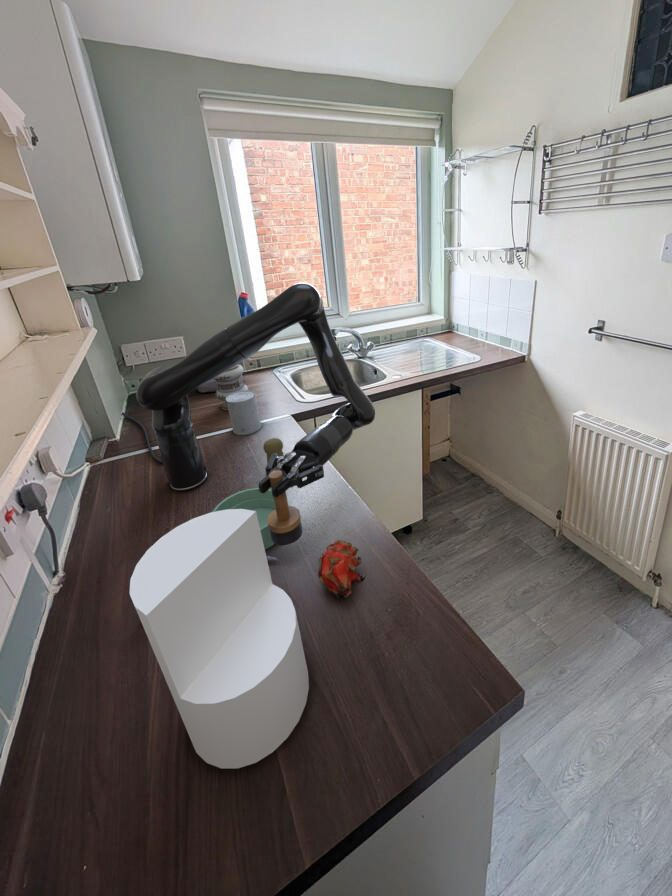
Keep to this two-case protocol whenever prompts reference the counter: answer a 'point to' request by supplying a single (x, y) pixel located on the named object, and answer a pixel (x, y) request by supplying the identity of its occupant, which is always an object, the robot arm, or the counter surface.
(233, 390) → the apothecary jar
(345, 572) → the dragon fruit
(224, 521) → the stepped white drum
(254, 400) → the white canister
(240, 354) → the robot arm
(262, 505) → the bowl
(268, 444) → the olive green tapered cone
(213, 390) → the grey rounded bag
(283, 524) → the dish brush
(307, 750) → the counter surface
